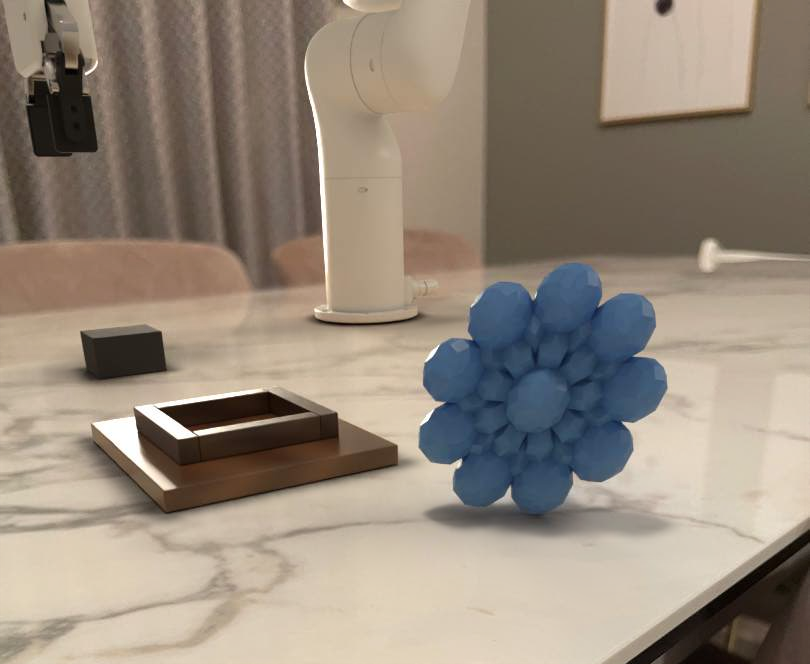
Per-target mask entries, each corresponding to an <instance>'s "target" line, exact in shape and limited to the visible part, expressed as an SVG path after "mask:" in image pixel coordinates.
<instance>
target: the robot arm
mask: <svg viewBox="0 0 810 664" xmlns="http://www.w3.org/2000/svg"><path fill="white" fill-rule="evenodd" d="M342 1H343V3H344V4H345V5H346V6H348V7H349V8H351V9H352V10H354V11H358V12H361V13H363V14H358V15H352V16H347V17H343V18H338V19H335V20H333V21H331V22H329V23H326V24H325V25H323V26H322V27H321V28H319V29H318V30H317V31H316V32H315V34H314V35H313V36H312V38H311V39H310V41H309V43H308V45H307V48H306V51H305V56H304V77H305V83H306V88H307V92H308V97H309V101H310V105H311V109H312V114H313V118H314V125H315V132H316V140H317V149H318V164H319V184H320V186H319V187H320V204H321V220H322V221H321V222H322V241H323V256H324V257H323V258H324V259H323V260H324V274H325V293H326V303H324V304H321V305H320V304H319V305H317V306H316V307H315V308H314V317H315V318H316V319H317V320H320V321H324V322H327V323H328V322H329V323H340V324H377V323H388V322H396V321H397V322H398V321H403V320H408V319H412V318H414V317H416V316H417V315H418V314H419V313H418V312H419V311H418V308H419V307H418V305H417V304H416V303H414V302H413V300H416V299H417V298H418V297H421V296H422V297H427V296H429V297H430V296H436V295H437V294H438V293H439V290H440V287H439V282H438V280H437V279H435V278H432V279H431V278H430V279H422V280H418V281H417V280H416V279H414V278H413V276H411V275H406V274H405V253H404V252H405V251H404V250H405V249H404V246H405V245H404V244H405V243H404V203H403V201H404V199H403V197H404V196H403V160H402V153H401V150H400V149H401V148H400V146H399V145H400V144H399V142H398V140H397V138H396V136H395V133H394V131H393V129H392V126H391V125H390V122H389V121H388V119H387V116H386V115H387V114H396V113H397V114H398V113H411V112H418V111H424V110H430V109H433V108H435V107H437V106H438V105H440V104H441V103H442V102H443V101H445V100H446V98H447V97H448V96H449V94H450V92H451V91H452V88H453V86H454V84H455V80H456V77H457V73H458V69H459V65H460V59H461V56H462V55H461V54H462V49H463V43H464V39H465V33H466V28H467V23H468V17H469V11H470V6H471V1H472V0H342ZM2 4H3V10H4V16H5V22H6V26H7V33H8V38H9V43H10V49H11V53H12V54H11V55H12V57H13V58H12V59H13V63H14V67H15V69H16V72H17V73H18V74H19V75H20V76H22V77H23V82H24V83H23V85H24V98H25V104H26V105H25V111H26V117H27V123H28V128H29V129H28V130H29V135H30V140H31V147H32V153H33V155H34V156H35V157H37V158H71V157H72V156H73V154H78V153H79V154H81V153H82V154H85V153H86V154H92V153H97V152H98V150H99V145H98V137H97V131H96V130H97V129H96V123H95V116H94V109H93V103H92V96H91V95H90V83H89V80H88V77H87V75H89V74H90V73H92V72H93V71H94V70H95V69H96V68H97V66H98V63H99V62H98V61H99V57H98V50H97V44H96V38H95V33H94V26H93V20H92V15H91V9H90V3H89V0H2Z"/></svg>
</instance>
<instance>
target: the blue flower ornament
mask: <svg viewBox="0 0 810 664" xmlns="http://www.w3.org/2000/svg"><path fill="white" fill-rule="evenodd" d="M602 298H603V285H602V281H601V278H600V275H599V273H598V272H597V271H596V270H595V269H594V268H593V267H591V266H590V265H589V264H585V263H582V262H565V263H564V264H562V265H560V266H558V267H556V268H554V269H553V270H552V271H550V272H549V273H547V274H546V275H545V276H544V277H543V278H542V280H541V281H540V284H539V285H538V287H537V289H536V291H535V294H534V297H533V298H532V296H531V294H530V292H529V290H527V289H526V288H525V287H524V286H523V284H521V283H519V282H515V281H497V282H495V283H494V284H493V283H492V284H491V285H490V286H487V287H486V288H485V289H483V290H482V291H481V292H480V293H479V294H478V295H476V297H475V299H474V301H473V302H472V304H471V306H470V307H469V311H468V315H467V333H468V334H469V336H470V338H471V339H468V338H462V337H461V338H460V337H450V338H448V339H447V340H445V341H443V342H441V343H439V344H438V345H437V346H436V347H435V348H433V349H432V350H431V351H430V353H429V355H428V356H427V358H426V360H425V361H424V364H423V368H422V369H423V370H422V386H423V387H424V389H425V390H426V392H427V393H428V394H429V396H430V397H431V398H432V399H433V400H434V402H439V403H443V404H441V405H438V406H437V407H435V408H434V409H432V410H431V411H430V412H428V413H426V415H425V417H424V418H423V420H422V422H421V423H420V425H419V428H418V434H417V445H418V446H417V447H418V449H419V450H420V452H421V453H422V454H423V455H424V456H425V458H426V459H427V460H428V461H429V463H432V464H439V465H453V464H454V463H456V462H457V461H459V462H458V464H457V465H456V467H455V469H454V472H453V476H452V491H453V492H454V494H455V495H456V496H457V498H458V499H459V500H460V501H461V502H462V503H463V505H465V506H468V507H473V508H486V507H488V506H491V505H492V504H494V503H496V502H497V501H499V500H501V499H502V498H504V497H505V496H506V494H507V492H508V491H509V489H510V497H511V499H512V500H513V502H514V503H515V505H516V506H517V507H518V508H519V509H520V510H521V512H523V513H526V514H532V515H545V514H547V513H549V512H552V511H553V510H556V509H557V508H558V507H560V506H561V505H562V504H564V503H565V501H566V499H567V497H568V495H569V493H570V492H571V490H572V487H573V485H574V475H576V477H577V479H579V480H580V481H585V482H589V483H603V482H605V481H607V480H610V479H612V478H614V477H615V476H617V475H618V474H620V473H621V472H623V470H624V468H625V467H626V465H627V464H628V462H629V460H630V458H631V456H632V455H633V453H634V450H635V449H634V437H633V434H632V432H631V430H630V429H629V428H628V427H627V426H626V425H625V424H624V423H630V424H634V423H637V422H638V421H641V420H642V419H644V418H646V417H648V416H649V415H651V414H652V413H654V412H655V411H657V409H658V407H659V405H660V404H661V402H662V400H663V398H664V397H665V394H666V392H667V391H668V388H669V387H668V377H667V373H666V369H665V367H664V365H662V364H661V363H660V362H659V361H658V360H657V359H656V358H654V357H653V358H651V357H647V356H636V355H637V354H639V353H641V352H642V351H645V348H646V347H647V345H648V344H649V341H650V340H651V338H652V336H653V334H654V332H655V329H656V328H657V319H656V311H655V308H654V305H653V303H651V301H650V300H649V299H648V298H646V297H645V296H644V295H642V294H638V293H634V292H633V293H632V292H631V293H630V292H629V293H626V292H625V293H622V292H621V293H618V294H617V295H615V296H613V297H611V298H608V300H606V301H605V302H603V303H602V304H600V303H601V301H602Z"/></svg>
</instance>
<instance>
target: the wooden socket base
mask: <svg viewBox="0 0 810 664" xmlns="http://www.w3.org/2000/svg"><path fill="white" fill-rule="evenodd" d="M90 429H91V435H92V440H93V441H94V443H95V444H97V445H98V446H99V447H100V448H101V449H102V450H103V451H104V452H105V453H106V454H107V455H108V456H109V457H110V458H111V459H112V460H113V461H114V462H115V463H116V464H117V465H118V466H119V467H120V468H121V469H122V470H123V471H124V472H125V473H126V474H127V475H128V476H129V477H130V478H131V479H132V481H134V482H135V483H136V484H137V485H138V486H139V487H140V488H141V489H142V490H143V491H144V492H145V493H146V494H147V495H148V496H149V497H150V498H151V499H152V500H153V501H154V502H156V504H157V505H159V506H160V508H161V509H163V510H164V511H165V513H171V512H172V513H173V512H176V511H180V510H186V509H190V508H195V507H200V506H203V505H211V504H213V503H218V502H224V501H229V500H232V499H233V500H234V499H237V498H242V497H248V496H250V495H256V494H261V493H266V492H270V491H276V490H280V489H285V488H289V487H294V486H300V485H303V484H309V483H313V482H319V481H322V480H323V481H324V480H327V479H333V478H337V477H341V476H342V477H343V476H347V475H352V474H357V473H360V472H366V471H371V470H375V469H380V468H384V467H389V466H394V465H398V464H399V445H398V444H396V443H395V442H392V441H390V440H388V439H385V438H383V437H381V436H379V435H378V434H375V433H373V432H371V431H368V430H366V429H365V428H362V427H360V426H357V425H355V424H353V423H351V422H349V421H346V420H344V419H343V418H340V417H339V413H338V412H337V411H335V410H333V409H331V408H329V407H326V406H324V405H322V404H319V403H318V402H315V401H314V400H313V401H312V400H311V399H309V398H306V397H304V396H301V395H300V394H297V393H295V392H292V391H290V390H288V389H287V388H284V387H281V386H279V385H275V386H265V387H262V388H255V389H247V390H241V391H233V392H227V393H220V394H215V395H213V394H212V395H207V396H199V397H195V398H187V399H186V398H185V399H180V400H173V401H167V402H160V403H154V404H146V405H140V406H134V407H133V416H130V417H124V418H117V419H110V420H104V421H97V422H92V423H90Z"/></svg>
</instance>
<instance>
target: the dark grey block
mask: <svg viewBox="0 0 810 664" xmlns="http://www.w3.org/2000/svg"><path fill="white" fill-rule="evenodd" d="M79 334H80V341H81V346H82V352H83V357H84V363H85V364H84V365H85V369H86V371H88V372H89V373H90V374H92V375H93V376H95V378H97V379H99V380H102V379H111V378H117V377H118V378H119V377H125V376H132V375H133V376H134V375H141V374H148V373H155V372H164V371H168V369H167V361H166V354H165V346H164V338H163V331H161V330H159V329H158V328H156V327H153V326H150V325H148V324H146V323H145V324H135V325H134V324H133V325H126V326H114V327H106V328H96V329H86V330H80V331H79Z"/></svg>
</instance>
